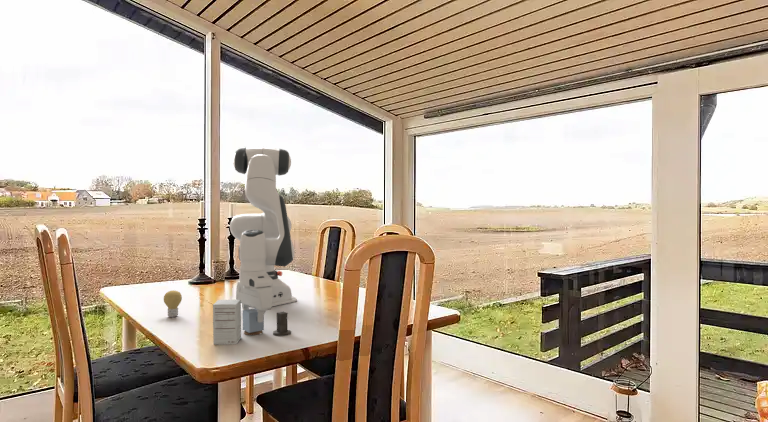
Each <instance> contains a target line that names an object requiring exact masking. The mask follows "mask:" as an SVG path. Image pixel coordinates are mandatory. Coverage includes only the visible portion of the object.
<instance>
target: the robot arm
mask: <svg viewBox="0 0 768 422" xmlns="http://www.w3.org/2000/svg"><path fill="white" fill-rule="evenodd" d="M232 163H233V166H234V167H233V168H234V170H235V171H236V172H237V173H239V174H243V175H245V181H244V193H245V197H246V199H247V200H248V202H249V203H250V205H252V206H253V207H254V208H257V209H259V210H261V211H262V212H261V213H242V214H236V215H234V216H233V217H232V218H231V221H230V222H229V230H230V233H231V235H232V236H233V237H234V238H235V239H237V240H238V241H239V246H238V260H239V261H240V266H239V268H238V269H239V277H238V278H239V279H238V281H237V283H236V291H235V298H236V299H235V300H241V309H242V311H243V310H248V309H250V308H252V309H254V308H255V309H257V312H258V316H257V317H256V321H257V322H259V323H260V322H263V316H264V317H265V314H266V311H270V310H271V309H272V307H276V306H281V305H286V304H291V303H296V302H297V301H298V300H297V299H298V298H297V297H295V296H292V295H293V294H292V289H291V287H290V286H289V285H288V284H286V283H285V282H284V281H282V279H279V277H282V275H283V272H282V271H281V270H278V271H277V270H276V269H275V266H276V267H286V266H288V265H289V264H291V263H292V262H293V261H294V258H295V247H294V244H293V241H292V237H291V230H292V222H291V221H292V220H291V219H290V217H289V216H288V210H287V206H286V205H287V204H286V202H285V199H284V196H282V195H280V194H279V193H278V190H277V186H276V185H277V176H283V175H287V174H288V173H289V171H290V169H291V165H292V159H291V156H290V153H289V151H288V150H286V149H283V148H274V147H267V146H266V147H265V146H263V147H259V146H258V147H256V146H253V147H247V146H242V147H238V148H236V150H235V152H234V154H233V157H232Z"/></svg>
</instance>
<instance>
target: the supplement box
mask: <svg viewBox="0 0 768 422" xmlns="http://www.w3.org/2000/svg"><path fill="white" fill-rule="evenodd" d="M212 335H213V336H212V338H213V340H212V343H213V345H238V342H239V341H240V340H241V338H242V303H241V300H236V299H217V301H215V302H214V303H213V304H212Z"/></svg>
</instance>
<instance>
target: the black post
mask: <svg viewBox="0 0 768 422" xmlns="http://www.w3.org/2000/svg"><path fill="white" fill-rule="evenodd" d="M291 334H292V331H291V330H290V329H288V312H286V311H278V312H276V330H274V331H273V332H272V335H273V336H276V337H285V336H289V335H291Z"/></svg>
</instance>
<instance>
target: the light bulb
mask: <svg viewBox="0 0 768 422" xmlns="http://www.w3.org/2000/svg"><path fill="white" fill-rule="evenodd" d="M182 298H183V297H182V293H181V292H180V291H178V290H175V289H174V290H169V291H167V292H166V293H165V294H164V295H163V303H164V304H165V306H167V317H169V318H175V317H177V316H178V315H179V306H180V304H181V302H182V300H183V299H182Z"/></svg>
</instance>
